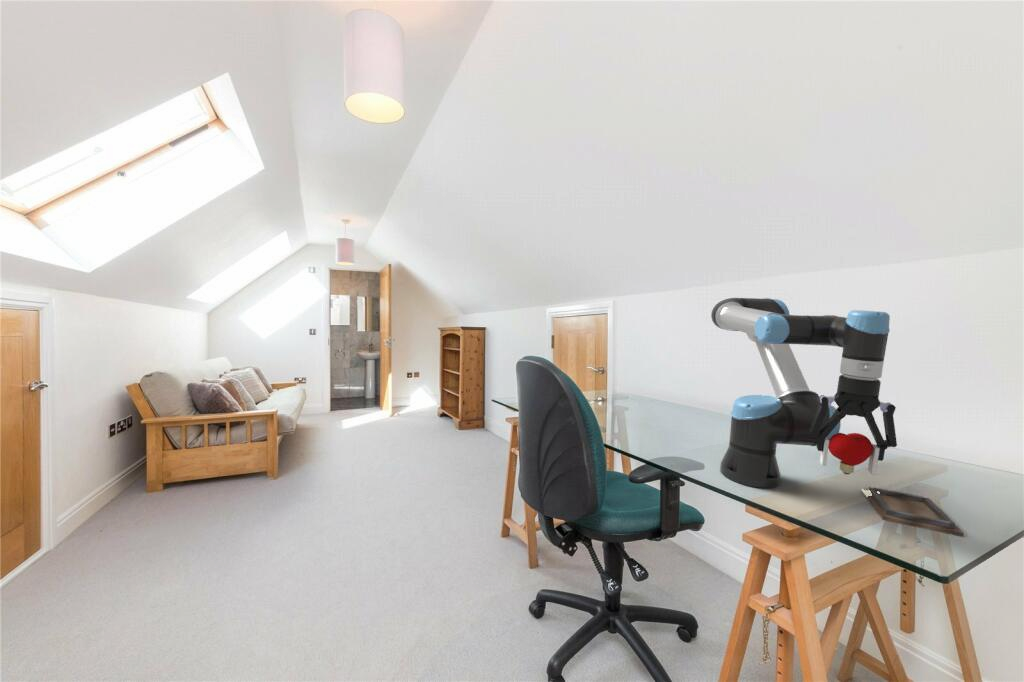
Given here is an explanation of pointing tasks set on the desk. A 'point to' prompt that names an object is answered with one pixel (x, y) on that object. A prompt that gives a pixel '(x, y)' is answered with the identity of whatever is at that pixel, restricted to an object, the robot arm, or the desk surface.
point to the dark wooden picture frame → (911, 511)
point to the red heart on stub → (850, 450)
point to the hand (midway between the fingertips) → (846, 467)
